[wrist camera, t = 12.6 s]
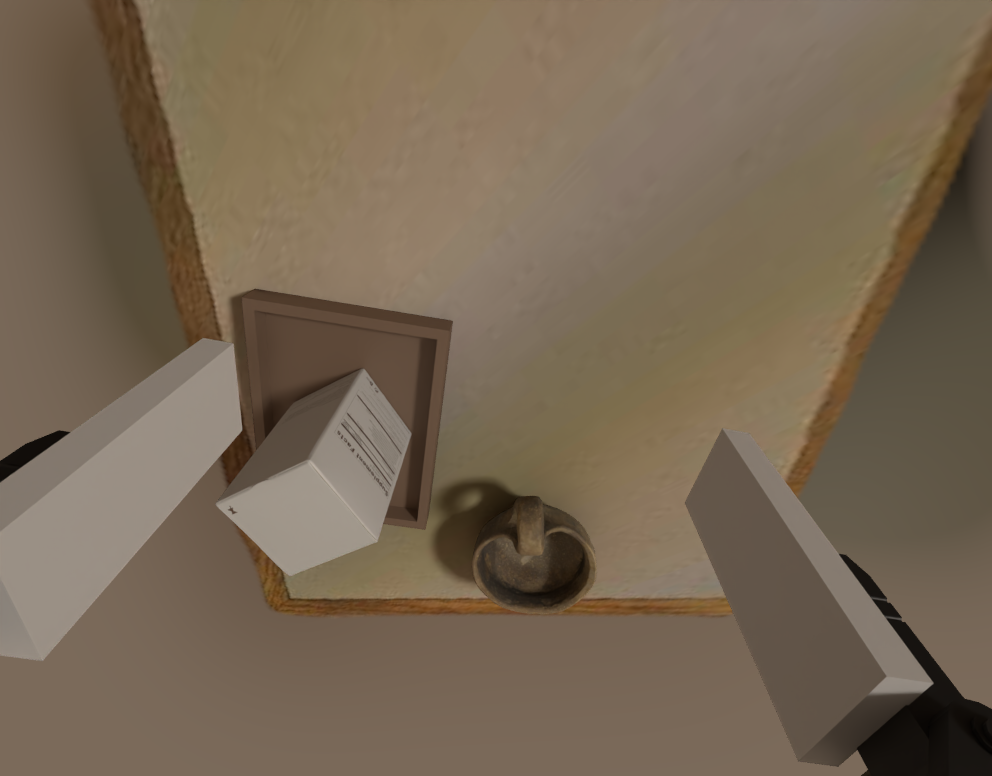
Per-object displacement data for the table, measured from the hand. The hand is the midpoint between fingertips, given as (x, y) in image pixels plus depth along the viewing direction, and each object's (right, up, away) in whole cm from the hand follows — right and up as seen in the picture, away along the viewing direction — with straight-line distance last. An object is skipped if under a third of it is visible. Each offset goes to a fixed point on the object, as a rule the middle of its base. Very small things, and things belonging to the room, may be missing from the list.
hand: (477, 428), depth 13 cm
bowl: (+5, -14, +43) cm, 45 cm away
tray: (-14, -2, +36) cm, 39 cm away
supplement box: (-14, -2, +36) cm, 39 cm away
